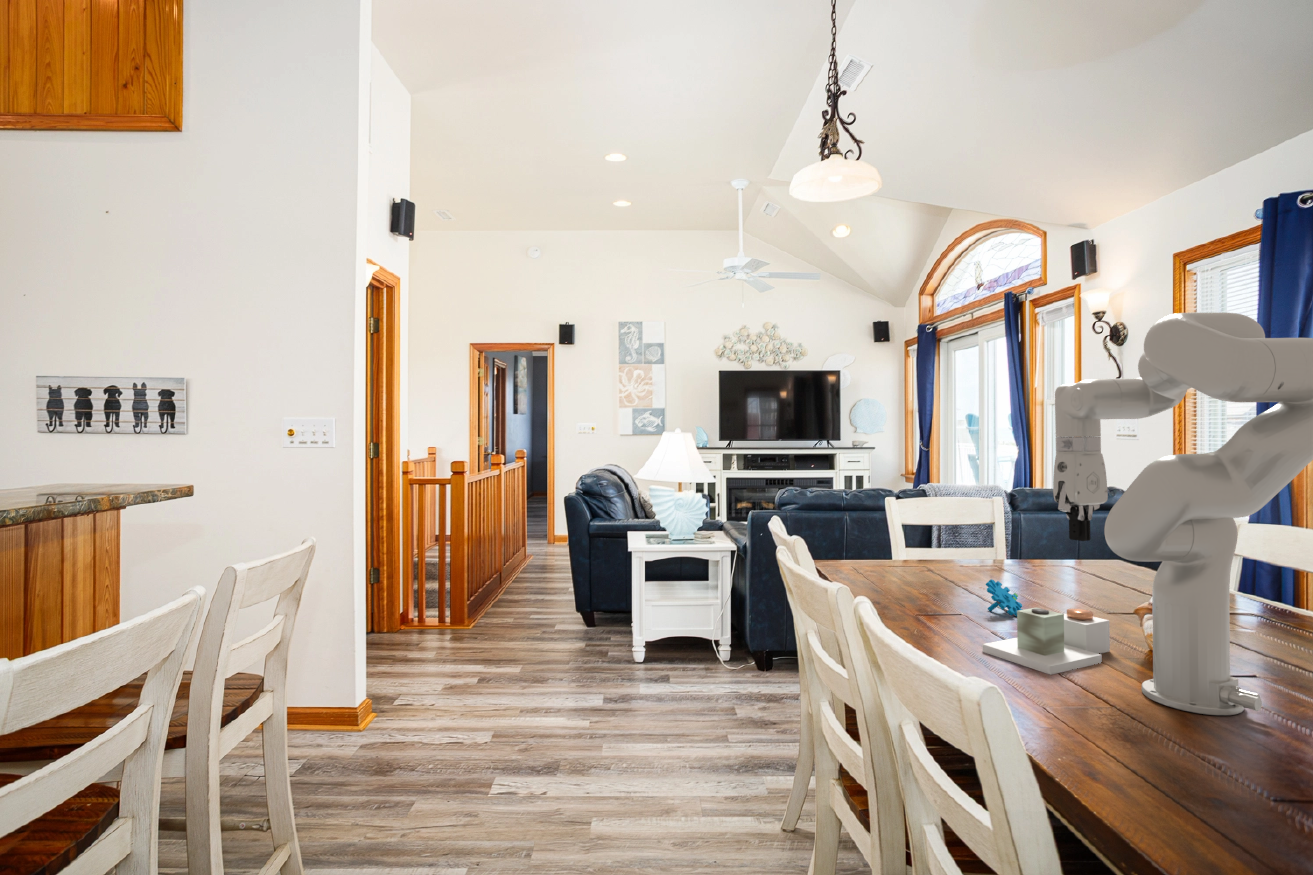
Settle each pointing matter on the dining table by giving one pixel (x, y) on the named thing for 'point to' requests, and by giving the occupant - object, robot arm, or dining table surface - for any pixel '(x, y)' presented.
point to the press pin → (1080, 614)
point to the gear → (1003, 598)
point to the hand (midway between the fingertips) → (1079, 539)
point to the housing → (1040, 631)
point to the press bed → (1078, 647)
